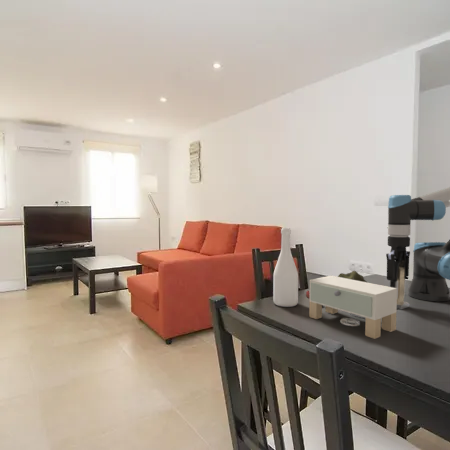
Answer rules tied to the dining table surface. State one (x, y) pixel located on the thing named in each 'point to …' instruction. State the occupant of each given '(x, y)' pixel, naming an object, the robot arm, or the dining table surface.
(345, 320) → the steel disc
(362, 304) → the cabinet
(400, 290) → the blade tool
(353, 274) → the decorative rock
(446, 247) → the robot arm
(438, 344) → the dining table surface
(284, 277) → the wine bottle
